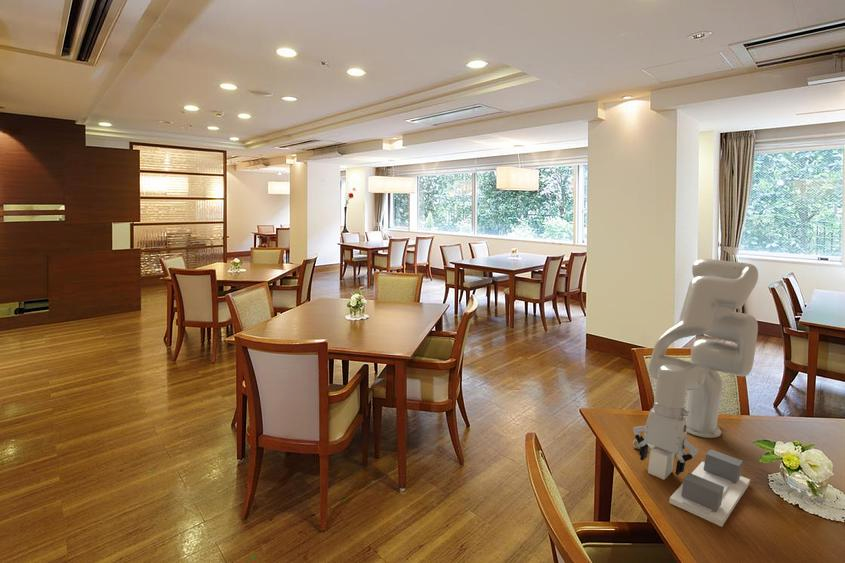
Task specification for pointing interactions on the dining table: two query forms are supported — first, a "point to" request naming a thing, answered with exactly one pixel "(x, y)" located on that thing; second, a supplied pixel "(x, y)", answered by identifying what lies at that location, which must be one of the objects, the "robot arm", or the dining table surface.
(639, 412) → the dining table surface
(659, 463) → the block
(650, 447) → the fossil
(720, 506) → the rail board
